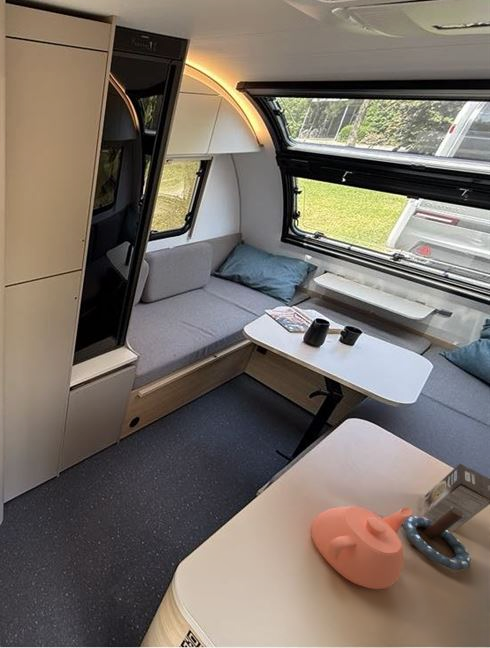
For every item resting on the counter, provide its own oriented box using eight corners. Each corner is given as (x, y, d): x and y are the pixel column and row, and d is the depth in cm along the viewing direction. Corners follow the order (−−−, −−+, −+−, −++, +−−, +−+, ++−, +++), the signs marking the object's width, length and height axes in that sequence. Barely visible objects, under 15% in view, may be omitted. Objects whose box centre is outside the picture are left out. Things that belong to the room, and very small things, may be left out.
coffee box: (421, 496, 105) (459, 462, 97) (451, 513, 101) (493, 479, 93) (419, 516, 99) (459, 482, 91) (451, 535, 95) (495, 500, 87)
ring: (451, 533, 94) (457, 528, 93) (477, 582, 85) (485, 577, 83) (394, 511, 98) (399, 506, 97) (413, 555, 89) (419, 550, 87)
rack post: (438, 530, 96) (471, 504, 90) (455, 564, 89) (492, 538, 83) (397, 514, 99) (426, 488, 93) (411, 546, 92) (443, 519, 86)
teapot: (348, 507, 100) (376, 478, 93) (418, 573, 86) (456, 545, 80) (283, 531, 92) (308, 502, 85) (349, 608, 79) (384, 580, 72)
